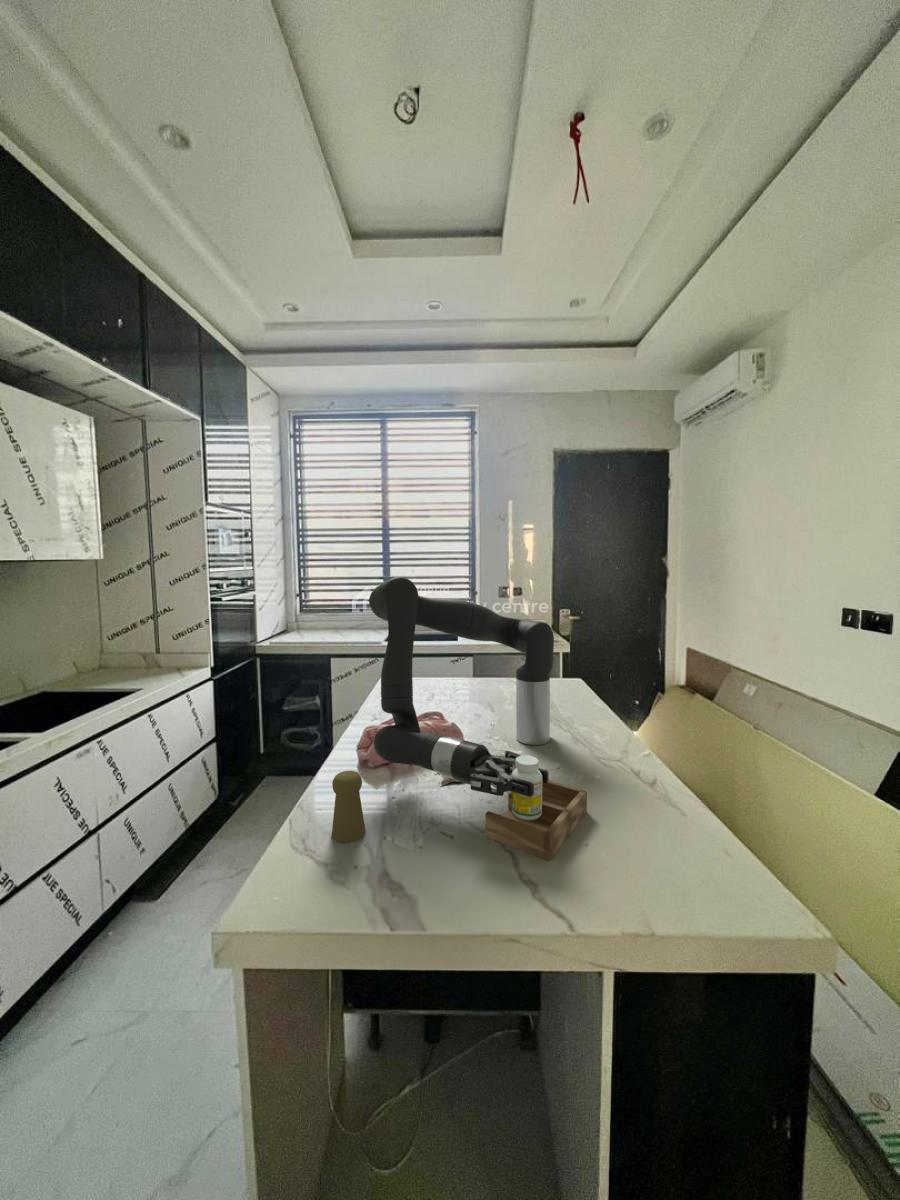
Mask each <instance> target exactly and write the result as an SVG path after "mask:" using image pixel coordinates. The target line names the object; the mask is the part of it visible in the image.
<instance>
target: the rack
mask: <svg viewBox="0 0 900 1200" xmlns="http://www.w3.org/2000/svg"><path fill="white" fill-rule="evenodd" d="M507 797H508V805H507V806H508V809H507V810H506V811H504V812H503V813H502V814H499V813H495V812H493V811H489V810H488V811H486V812H485V815H484V816H485V817H484V820H485V826H484V827H485V829H484V830H485V837H486V838H489V839H491V840H495V841H497V842H499V843H502V844H503V845H506V846H509V847H512V848H515V849H516V850H517V849H518V850H520V851H523V852H525V853H528V854H531V855H533V856H535V857H538V858H540V859H544V860H545V859H546V861H548V862H550V861H551V859H552V858H553V856H554V855H555V854H556V853H557V852H558V850H559V849H560V848H561V847H562V845H563V844H564V843H565V842H566V840H567V839H568V837H569V836H570V835H571V833H572V832H573V830H574V829H575V828H576V827H577V826H578V824H579V823H580V822H581V820H582V819H583V818H584V816H585V815H586V813H587V812H588V790H586V789H582V788H578V787H575V786H572V785H571V786H570V785H567V784H564V783H559V782H557V781H553V780H548V782H547V783H542V814H541V816H540V817H539V818H537V819H534V820H523V819H520V818H518V817H516V816H515V815H514V814H513V812H512V808H511V804H512V792H511V793H508V796H507Z"/></svg>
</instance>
